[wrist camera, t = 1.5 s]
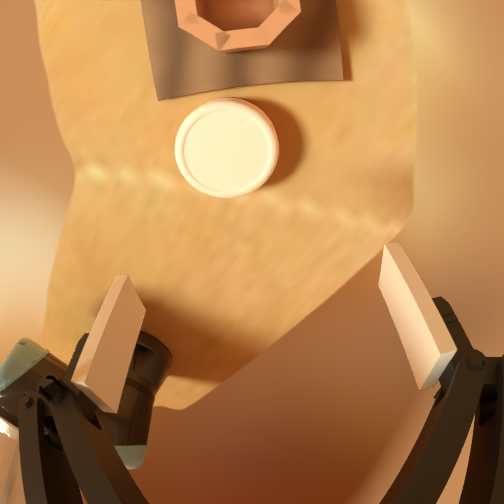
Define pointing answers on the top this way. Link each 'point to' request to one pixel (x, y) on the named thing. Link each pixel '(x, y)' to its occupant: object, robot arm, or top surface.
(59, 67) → the top surface
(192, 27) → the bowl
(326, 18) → the board
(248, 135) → the cream flat cylinder
